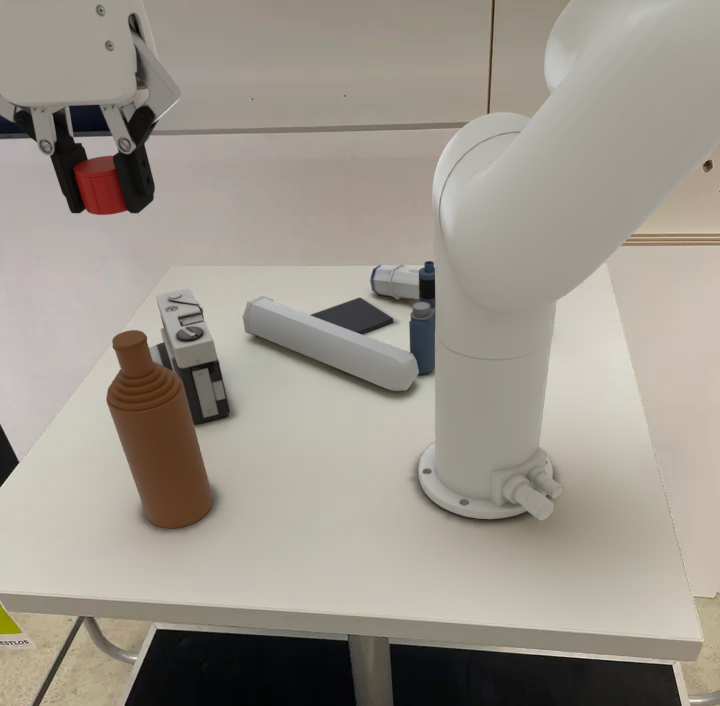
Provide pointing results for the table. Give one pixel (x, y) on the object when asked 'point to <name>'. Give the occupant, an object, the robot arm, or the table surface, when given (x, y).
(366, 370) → the tube
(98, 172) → the cap
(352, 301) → the mat
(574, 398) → the table surface
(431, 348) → the vaping device
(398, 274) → the white faceted cylinder
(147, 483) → the bottle
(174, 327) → the camera
